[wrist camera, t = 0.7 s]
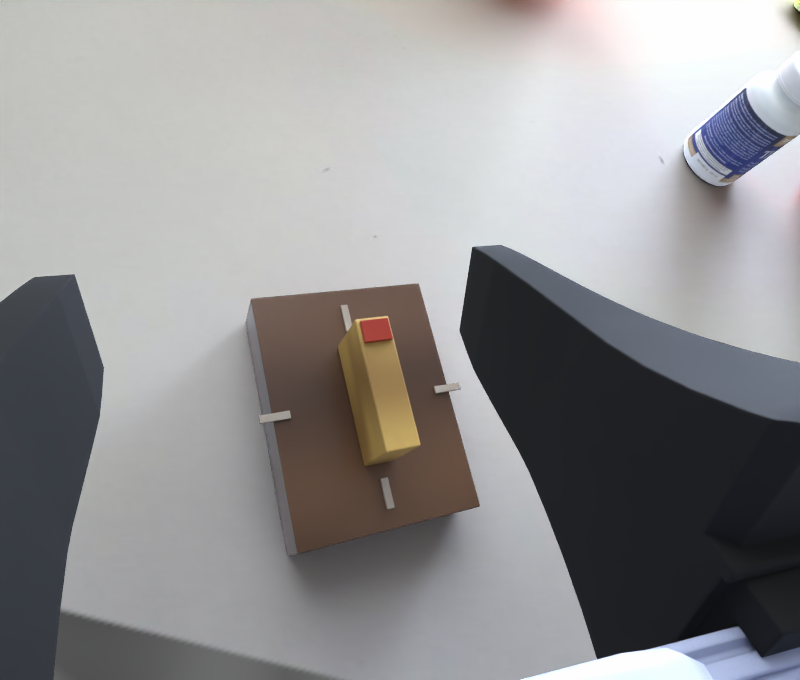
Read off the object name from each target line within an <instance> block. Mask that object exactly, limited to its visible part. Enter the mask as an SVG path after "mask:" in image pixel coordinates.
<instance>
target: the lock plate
mask: <svg viewBox="0 0 800 680" xmlns="http://www.w3.org/2000/svg"><path fill="white" fill-rule="evenodd" d="M383 316H388V318H389V322H390V326H391V330H392V334H393V338H394V342H395V346H396V350H397V354H398V358H399V362H400V366H401V369H402V373H403V377H404V381H405V385H406V389H407V393H408V397H409V401H410V405H411V409H412V413H413V417H414V421H415V425H416V428H417V432H418V436H419V440H420V446H419V447H417V448H415V449H414V450H412V451H410V452H408V453H406V454H405V455H403V456H401V457H399V458H397V459H396V460H392V461H388V462H383V463H378V464H374V465H369V466H365V465H364V462H363V457H362V453H361V448H360V444H359V440H358V435H357V431H356V426H355V422H354V417H353V413H352V408H351V404H350V399H349V395H348V390H347V386H346V381H345V377H344V372H343V368H342V364H341V359H340V355H339V350H338V345H339V344H340V342H341V341H342V339H343V338H344V336H345V335H346V333H347V332H348V330H349V329H350V327H351V326H352V324H353V322H354V321H355V320H356V319H365V318H374V317H383ZM246 327H247V333H248V338H249V344H250V350H251V355H252V361H253V367H254V372H255V378H256V383H257V389H258V395H259V400H260V406H261V412H262V415H260V416H259V421H260V424H263V423H264V428H265V434H266V440H267V445H268V451H269V457H270V462H271V468H272V474H273V479H274V485H275V490H276V496H277V502H278V507H279V513H280V519H281V524H282V530H283V536H284V541H285V547H286V552H287V556H291V555H296V554H301V553H304V552H308V551H312V550H316V549H320V548H324V547H327V546H331V545H335V544H339V543H343V542H346V541H350V540H354V539H358V538H362V537H365V536H369V535H373V534H377V533H381V532H384V531H388V530H392V529H396V528H400V527H403V526H407V525H411V524H415V523H419V522H422V521H426V520H430V519H434V518H438V517H442V516H445V515H449V514H453V513H457V512H461V511H464V510H468V509H472V508H476V507H479V506H480V504H479V501H478V497H477V493H476V490H475V486H474V483H473V479H472V475H471V472H470V468H469V464H468V461H467V457H466V454H465V450H464V446H463V443H462V439H461V435H460V432H459V428H458V424H457V421H456V417H455V414H454V410H453V406H452V403H451V399H450V395H449V391H455V390H459V389H460V386H459V383H452V384H446V381H445V377H444V374H443V370H442V366H441V363H440V359H439V355H438V352H437V348H436V345H435V341H434V337H433V334H432V330H431V326H430V323H429V319H428V316H427V312H426V308H425V305H424V301H423V297H422V294H421V290H420V287H419V284H407V285H396V286H385V287H374V288H363V289H352V290H341V291H330V292H319V293H308V294H297V295H286V296H275V297H264V298H253V299H251V301H250V305H249V310H248V314H247V319H246Z"/></svg>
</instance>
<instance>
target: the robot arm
mask: <svg viewBox="0 0 800 680" xmlns="http://www.w3.org/2000/svg"><path fill="white" fill-rule="evenodd" d="M460 333H461V336H462V339H463V342H464V345H465V348H466V351H467V353H468V356H469V358H470V361H471V364H472V366H473V369H474V371H475V373H476V375H477V377H478V379H479V380H480V382H481V384H482V386H483V388H484V390H485V391H486V393H487V395H488V397H489V399H490V401H491V402H492V404H493V406H494V408H495V409H496V411H497V413H498V415H499V417H500V418H501V420H502V422H503V424H504V426H505V427H506V429H507V431H508V433H509V435H510V436H511V438H512V440H513V442H514V443H515V445H516V447H517V449H518V451H519V452H520V454H521V456H522V458H523V460H524V462H525V464H526V466H527V468H528V470H529V472H530V475H531V477H532V480H533V482H534V484H535V487H536V489H537V492H538V494H539V496H540V499H541V501H542V504H543V506H544V508H545V511H546V513H547V516H548V518H549V521H550V523H551V526H552V529H553V531H554V534H555V537H556V539H557V542H558V544H559V547H560V550H561V552H562V555H563V557H564V560H565V563H566V566H567V569H568V572H569V575H570V577H571V580H572V583H573V586H574V589H575V592H576V595H577V598H578V600H579V603H580V606H581V609H582V612H583V615H584V618H585V622H586V625H587V628H588V631H589V634H590V638H591V641H592V644H593V647H594V650H595V654H596V657H597V660H594V661H590V662H586V663H582V664H578V665H575V666H571V667H567V668H563V669H559V670H556V671H552V672H548V673H544V674H540V675H536V676H533V677H529V678H525V679H521V680H800V363H798V362H794V361H789V360H785V359H780V358H776V357H772V356H768V355H764V354H760V353H756V352H752V351H748V350H745V349H741V348H738V347H734V346H731V345H728V344H724V343H721V342H718V341H714V340H711V339H708V338H705V337H702V336H699V335H696V334H693V333H690V332H687V331H684V330H681V329H679V328H676V327H673V326H671V325H668V324H665V323H663V322H660V321H658V320H655V319H652V318H650V317H647V316H645V315H643V314H640V313H638V312H635V311H633V310H631V309H629V308H627V307H624V306H622V305H620V304H618V303H616V302H614V301H612V300H609V299H607V298H605V297H603V296H601V295H599V294H597V293H595V292H593V291H591V290H589V289H587V288H585V287H583V286H581V285H579V284H577V283H575V282H574V281H572V280H570V279H568V278H566V277H564V276H562V275H560V274H559V273H557V272H555V271H553V270H551V269H549V268H547V267H545V266H544V265H542V264H540V263H538V262H536V261H534V260H532V259H530V258H528V257H526V256H525V255H523V254H521V253H518V252H516V251H514V250H512V249H510V248H507V247H505V246H502V245H495V246H480V247H472V253H471V259H470V266H469V272H468V279H467V285H466V292H465V298H464V305H463V311H462V318H461V324H460ZM103 372H104V367H103V364H102V361H101V357H100V354H99V351H98V348H97V345H96V341H95V338H94V335H93V332H92V329H91V326H90V322H89V319H88V316H87V313H86V310H85V306H84V303H83V300H82V297H81V294H80V291H79V287H78V284H77V281H76V278H75V275H59V276H45V277H34V278H33V279H31V280H29V281H28V282H26V283H25V284H24V285H22V286H21V287H19V288H18V289H17V290H15V291H14V292H13V293H12V294H10V295H9V296H8V297H6V298H5V299H4V300H3V301H1V302H0V680H53V677H54V665H55V655H56V645H57V635H58V626H59V616H60V607H61V599H62V591H63V583H64V575H65V567H66V559H67V552H68V546H69V541H70V536H71V531H72V526H73V522H74V518H75V514H76V510H77V506H78V502H79V498H80V494H81V490H82V486H83V482H84V478H85V474H86V470H87V466H88V462H89V458H90V454H91V450H92V446H93V442H94V438H95V434H96V430H97V425H98V421H99V417H100V408H101V398H102V385H103Z"/></svg>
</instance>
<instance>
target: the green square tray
mask: <svg viewBox="0 0 800 680" xmlns="http://www.w3.org/2000/svg"><path fill="white" fill-rule="evenodd" d="M794 7H795V8H796V9H797V10H798V11H799V12H800V0H794Z"/></svg>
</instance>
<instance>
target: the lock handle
mask: <svg viewBox="0 0 800 680" xmlns="http://www.w3.org/2000/svg"><path fill="white" fill-rule="evenodd" d="M338 350H339V355H340V359H341V364H342V368H343V372H344V377H345V381H346V386H347V390H348V395H349V399H350V404H351V408H352V413H353V417H354V422H355V426H356V431H357V435H358V440H359V444H360V448H361V453H362V457H363V462H364V465H365V466H369V465H374V464H378V463H383V462H388V461H392V460H396V459H397V458H399V457H401V456H403V455H405V454H406V453H408V452H410V451H412V450H414V449H415V448H417V447H419V446H420V440H419V436H418V432H417V428H416V425H415V421H414V417H413V413H412V409H411V405H410V401H409V397H408V393H407V389H406V385H405V381H404V377H403V373H402V369H401V366H400V362H399V358H398V354H397V350H396V346H395V342H394V338H393V334H392V330H391V326H390V322H389V318H388V316H383V317H374V318H365V319H356V320H355V321H354V322H353V324H352V326H351V327H350V329H349V330H348V332H347V333H346V335H345V336H344V338H343V339H342V341H341V342H340V344H339V345H338Z"/></svg>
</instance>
